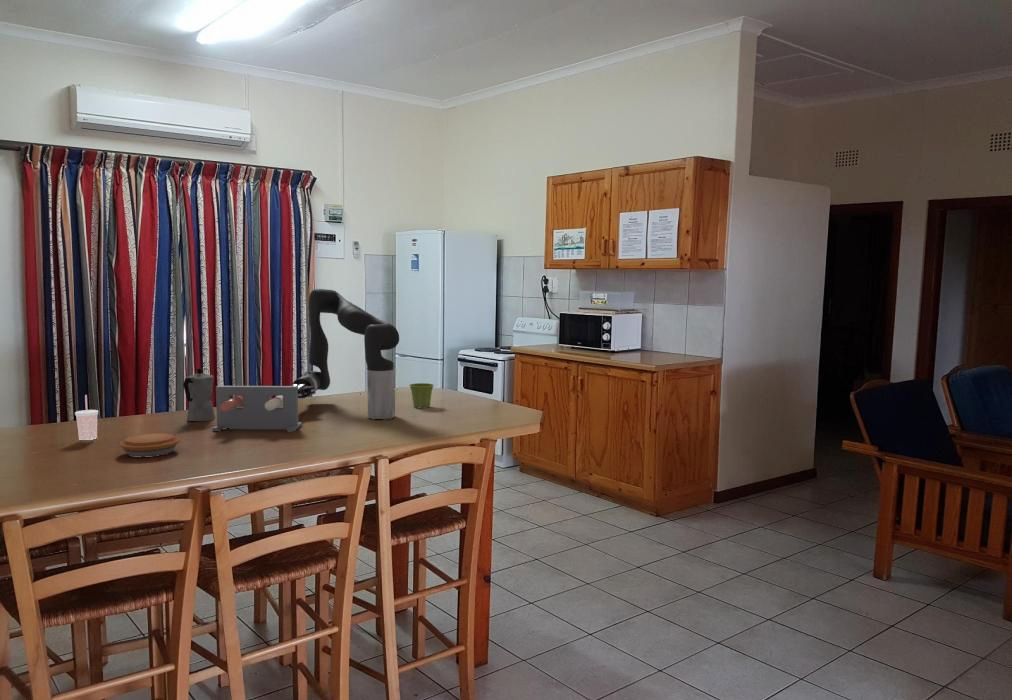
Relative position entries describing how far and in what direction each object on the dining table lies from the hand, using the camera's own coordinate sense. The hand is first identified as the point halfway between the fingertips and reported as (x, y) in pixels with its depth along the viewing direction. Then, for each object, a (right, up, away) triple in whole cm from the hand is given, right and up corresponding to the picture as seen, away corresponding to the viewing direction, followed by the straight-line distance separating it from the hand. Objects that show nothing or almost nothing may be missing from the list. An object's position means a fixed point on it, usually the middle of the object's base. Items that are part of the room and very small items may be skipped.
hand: (291, 393), depth 258 cm
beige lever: (0, -4, -16) cm, 17 cm away
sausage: (-13, -4, -19) cm, 24 cm away
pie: (-25, -14, -49) cm, 57 cm away
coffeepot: (-32, -9, -1) cm, 33 cm away
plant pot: (+42, -7, +27) cm, 51 cm away
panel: (-6, -11, -15) cm, 20 cm away
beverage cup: (-51, -12, -34) cm, 63 cm away
